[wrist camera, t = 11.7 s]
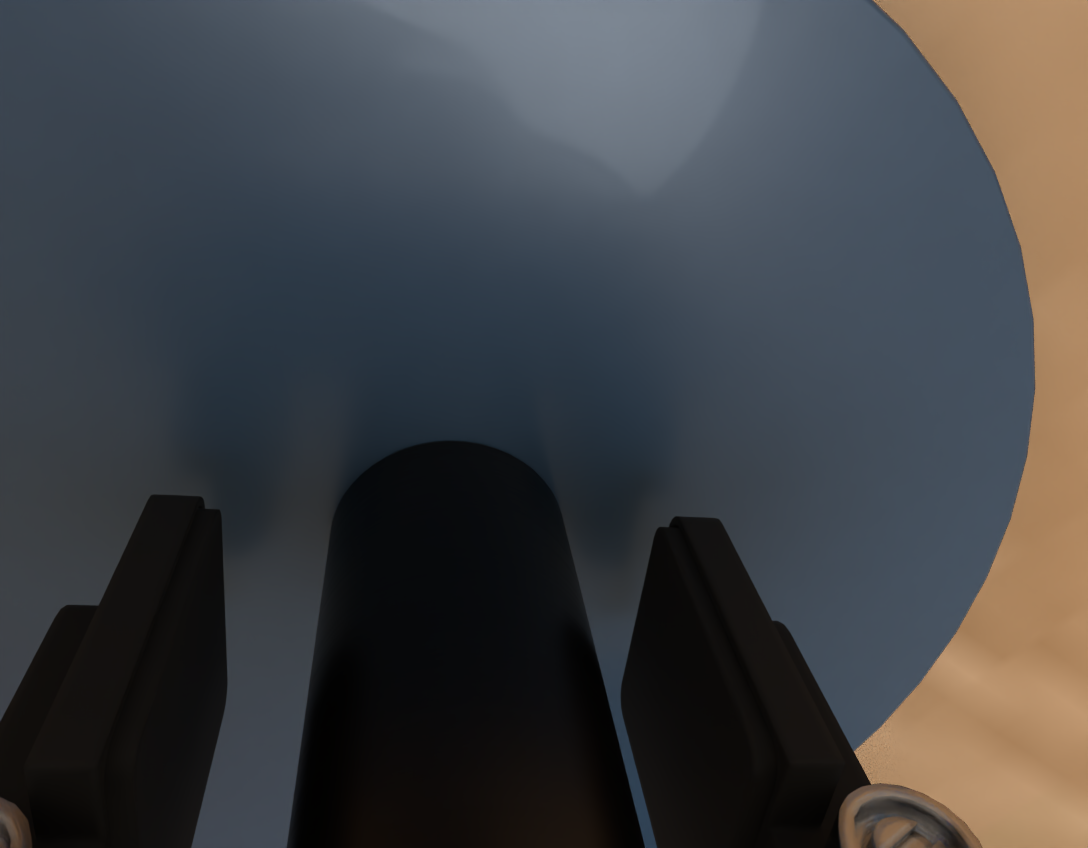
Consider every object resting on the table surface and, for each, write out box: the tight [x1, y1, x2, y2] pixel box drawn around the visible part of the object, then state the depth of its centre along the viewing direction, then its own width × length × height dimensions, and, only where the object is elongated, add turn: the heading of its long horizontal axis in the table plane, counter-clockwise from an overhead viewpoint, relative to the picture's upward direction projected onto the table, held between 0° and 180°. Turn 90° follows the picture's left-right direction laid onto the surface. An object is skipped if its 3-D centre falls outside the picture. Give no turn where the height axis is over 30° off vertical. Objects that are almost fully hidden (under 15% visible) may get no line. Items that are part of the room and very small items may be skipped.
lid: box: [0, 0, 1035, 848], centre depth 10 cm, size 17×17×8 cm
